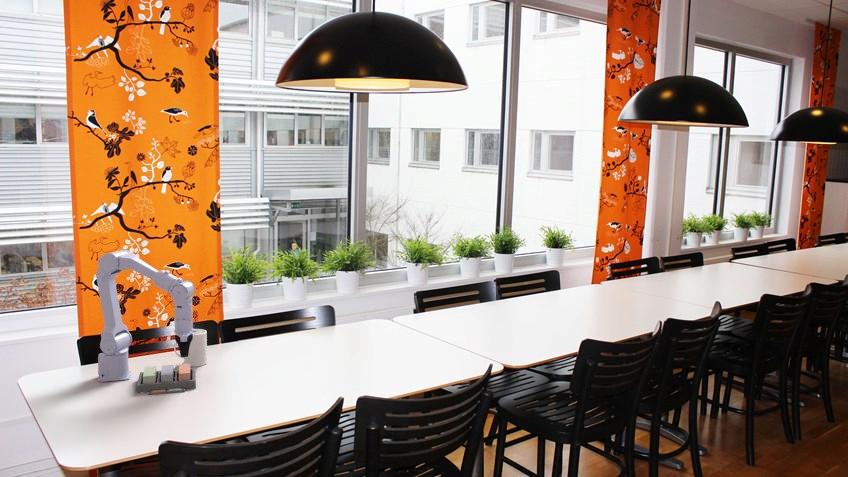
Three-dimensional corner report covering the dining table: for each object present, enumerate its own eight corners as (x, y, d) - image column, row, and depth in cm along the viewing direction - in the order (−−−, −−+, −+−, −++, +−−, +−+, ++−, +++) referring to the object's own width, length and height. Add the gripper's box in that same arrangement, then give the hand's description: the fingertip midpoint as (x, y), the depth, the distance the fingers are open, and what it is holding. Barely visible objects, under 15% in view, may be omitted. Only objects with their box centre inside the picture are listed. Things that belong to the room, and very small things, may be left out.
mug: (176, 369, 239) (175, 337, 237) (172, 362, 246) (171, 331, 244) (209, 365, 244) (209, 333, 243) (205, 358, 252) (204, 327, 250)
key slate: (161, 385, 219) (160, 375, 218) (162, 375, 228) (162, 365, 228) (172, 384, 220) (172, 374, 219) (173, 374, 229) (173, 364, 229)
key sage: (143, 386, 217) (142, 376, 216) (145, 376, 226) (144, 366, 226) (154, 385, 218) (154, 375, 218) (156, 375, 227) (156, 366, 227)
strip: (148, 394, 214) (148, 392, 214) (148, 392, 216) (148, 390, 216) (184, 391, 217) (184, 389, 217) (184, 389, 219) (184, 387, 219)
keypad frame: (137, 393, 215) (136, 385, 215) (140, 379, 227) (139, 372, 227) (195, 388, 221) (195, 380, 221) (195, 375, 233) (195, 368, 233)
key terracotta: (178, 383, 220) (178, 373, 220) (179, 373, 230) (179, 364, 229) (190, 382, 222) (190, 372, 221) (190, 372, 231) (190, 363, 231)
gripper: (196, 322, 217) (197, 362, 219) (196, 311, 231) (196, 349, 233) (173, 323, 215) (174, 363, 217) (174, 312, 229) (175, 350, 230)
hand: (184, 356), depth 225 cm, fingers closed
